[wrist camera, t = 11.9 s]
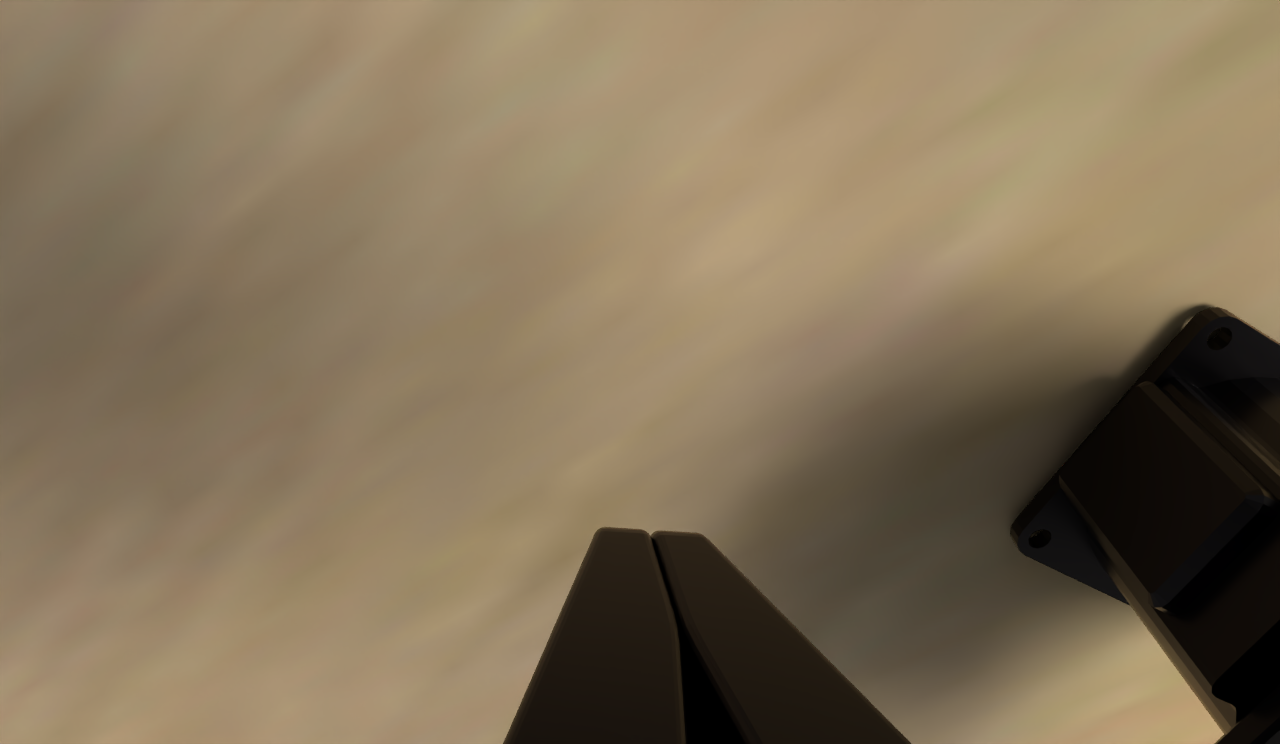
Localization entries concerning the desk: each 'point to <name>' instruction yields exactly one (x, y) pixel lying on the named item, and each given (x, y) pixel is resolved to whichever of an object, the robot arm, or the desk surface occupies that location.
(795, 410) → the desk surface
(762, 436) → the desk surface
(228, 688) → the desk surface
